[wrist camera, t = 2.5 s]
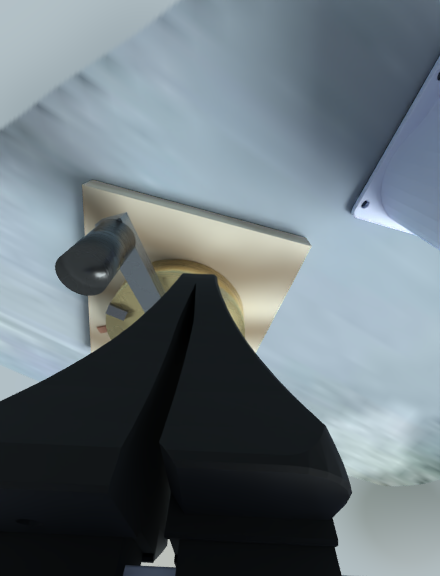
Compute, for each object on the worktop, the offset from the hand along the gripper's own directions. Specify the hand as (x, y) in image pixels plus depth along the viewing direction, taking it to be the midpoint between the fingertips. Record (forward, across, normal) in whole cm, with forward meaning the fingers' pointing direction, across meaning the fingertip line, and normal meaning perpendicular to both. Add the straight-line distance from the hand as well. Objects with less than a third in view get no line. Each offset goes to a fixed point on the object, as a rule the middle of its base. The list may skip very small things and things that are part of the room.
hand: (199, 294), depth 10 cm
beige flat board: (+10, +3, +9) cm, 14 cm away
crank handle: (+9, +3, +6) cm, 11 cm away
